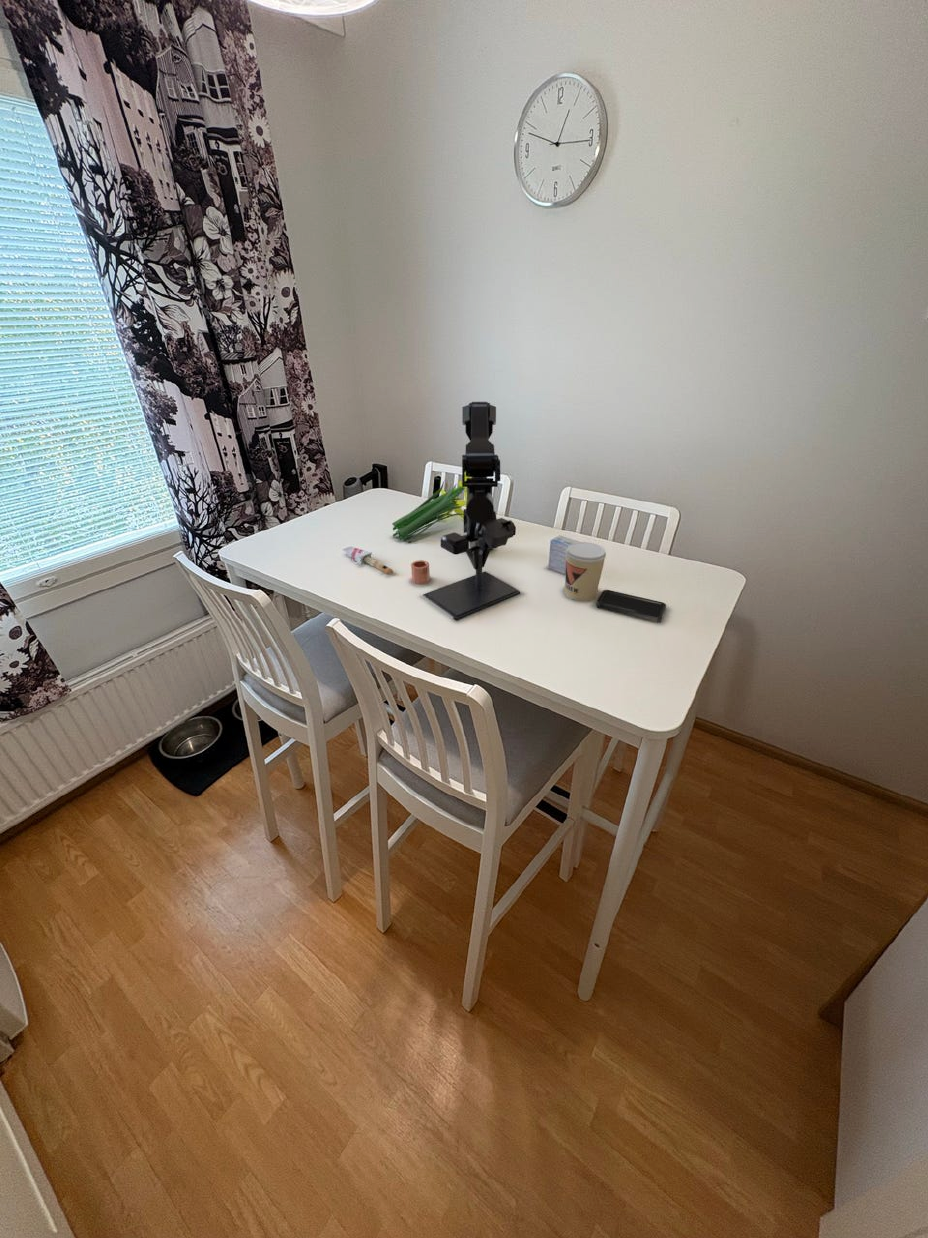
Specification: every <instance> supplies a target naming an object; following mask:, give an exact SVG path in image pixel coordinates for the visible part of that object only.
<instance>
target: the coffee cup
mask: <svg viewBox="0 0 928 1238" xmlns="http://www.w3.org/2000/svg"><path fill="white" fill-rule="evenodd" d="M606 557H607V552H606V549H605V548H604V547H603V546H601V545H600V544H597V543H594V542H589V541H580V542H577V543H573V544H571V545H569V546H568V548H567V550H566V572H565V574H564V575H565V576H564V593H565V595H566V596H567V597H568V598H569V599H571V600H574V601H578V602H586V601H587V602H588V601H592V600H593V599H595V598H596V596H597V593H598V589H599V586H600V582H601V576H602V572H603V568H604V564H605V559H606Z"/></svg>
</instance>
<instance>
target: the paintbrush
mask: <svg viewBox="0 0 928 1238" xmlns="http://www.w3.org/2000/svg"><path fill="white" fill-rule="evenodd" d="M342 551H343V552H344V553H346V554H347V555H348V556H349V557H351V558H352V559H353V560H355V562H356V563H358V564H361V565H363V564H365V563H366V564H368V565H370V566H372V567H373V568H375V569H376V570H379V571H380V572H383V573H384V574H386V575H390V574H393V572H394V571H393V569H392V568H391V567H389V566H387V565H385V564H383V563H381V562H380V561H378V560H376V559H375V558H372V554H373V552H372V551H369V550H368V551H367V550H364V549H361V548H357V547H354V546H348V547H345V548H343V549H342Z"/></svg>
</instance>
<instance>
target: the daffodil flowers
mask: <svg viewBox="0 0 928 1238" xmlns="http://www.w3.org/2000/svg"><path fill="white" fill-rule="evenodd" d="M467 478H471V477H466V472H465V481H466V479H467ZM444 482H445V480H443V482H442V484H441V486H440V487H439V489H438V490H437V491H435V492H434V493H433V494H432V495H431V496H430V497H428V498H427V499H426V500H425V501H424V502H422V503H421V504H420V505H419V506H417V507H415V509H413V510H411V511H410V512H409V513H407V514H406V515H404V516H402V517H400V518H399V519H397V520H395V521H394V522H392V523H391V525H392V526H393V527H392V531H393V532H394V531H395V530H396V532H395V533H393V534H392V537H393V538H395V537H397V538H399V539H400V541H401V542H402V541H404V540H406V539H407V538H409V537H411V538H409V539H408V540H407V542H406V543H409V542H411V541H413V540H414V539H415V538H416V537H419V536H420V535H421V534H422V533H424V532H425V531H426V530H428V529H429V528H431V527H432V526H433V525H435V524H436V523H438V522H440V521H441V522H443V521H445V520H446V519H449V518H451V517H455V516H459V517H460V518H462V519H463V520H464V514H463V510H464V509H463V507H465V506H466V503H467V487H462V480H460V481H458V482H457V484H455V485H454V486H453V487H452V485H450V486H449V489H448V492H446V491H445V490H443V488H444V485H445V483H444ZM456 486H458V487H457V488H456ZM463 491H464V492H463ZM439 494H440V495H439ZM461 494H463V495H464V499H465V500H464V499H461V498H459V496H460V495H461ZM438 495H439V496H438ZM437 496H438V497H437ZM453 512H454V513H453ZM414 534H415V535H414ZM412 535H413V536H412Z"/></svg>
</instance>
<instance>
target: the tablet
mask: <svg viewBox="0 0 928 1238" xmlns="http://www.w3.org/2000/svg"><path fill="white" fill-rule="evenodd" d="M422 595H423V597H425V598H426V599H427V600H429V601H430V602H432V603H433V604H434V605H436V606H437V607H438V608H440V609H441V610H443V611H444V612H446V613H447V614H448V615H450V616H451V617H453V618H452V619H453V620H454V621H456V622H458V621H460V620H462V619H465V618H467V617H470V616H472V615H474V614H476V613H479V612H481V611H483V610H485V609H489V608H491V607H493V606H495V605H498V604H501V603H503V602H504V601H507V600H510V599H513V598H514V597H516V596H519V595H521V591H520V590H518V589H517V588H515V587H514V586H512V585H510V584H508V583H507V582H504V581H503V580H501V579H499V578H497V577H496V576H495V575H492V574H490V573H489V572H487V571H482V587H481V590H477V587H476V574H474V575H471V576H469V577H467V578H464V579H461V580H458V581H456V582H453V583H450V584H447V585H445V586H441V587H439V588H437V589H434V590H432V591H428V592H426V593H423V594H422Z"/></svg>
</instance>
